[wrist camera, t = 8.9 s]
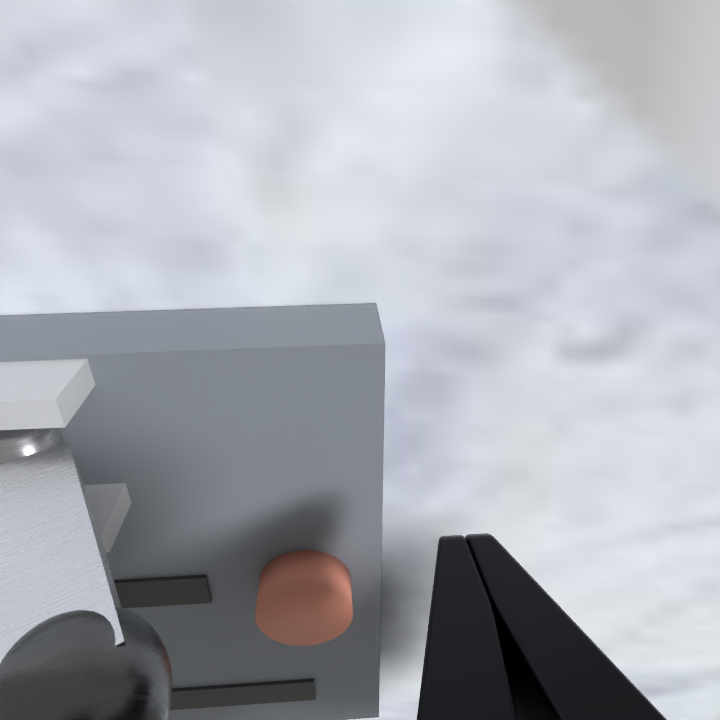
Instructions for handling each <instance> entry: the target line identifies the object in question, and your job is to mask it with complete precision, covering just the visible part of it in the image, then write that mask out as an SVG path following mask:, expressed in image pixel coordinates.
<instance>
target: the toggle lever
mask: <svg viewBox="0 0 720 720" xmlns="http://www.w3.org/2000/svg"><path fill="white" fill-rule="evenodd" d="M172 687H173V678H172V668H171V663H170V659H169V656H168V652H167V650H166V648H165V646H164V644H163V642H162V639H161V638H160V636H159V635H158V634H157V632H156V631H155V630H154V628H153V627H152V626H151V625H150V624H149V623H148V622H146V621H145V620H144V619H143V618H141V617H140V616H138V615H136V614H135V613H133V612H131V611H129V610H126V609H123V608H122V607H121V604H120V600H119V597H118V593H117V590H116V587H115V583H114V580H113V576H112V573H111V570H110V566H109V563H108V559H107V556H106V553H105V549H104V546H103V542H102V539H101V536H100V532H99V529H98V525H97V522H96V519H95V515H94V512H93V510H92V507H91V504H90V501H89V498H88V496H87V493H86V490H85V487H84V485H83V482H82V479H81V476H80V474H79V471H78V468H77V465H76V462H75V460H74V457H73V454H72V451H71V449H70V446H69V443H66V444H65V443H64V441H63V438H62V435H61V432H60V430H59V428H42V429H19V430H0V720H167V718H168V715H169V710H170V705H171V700H172Z"/></svg>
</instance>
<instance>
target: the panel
mask: <svg viewBox="0 0 720 720" xmlns="http://www.w3.org/2000/svg"><path fill="white" fill-rule="evenodd" d="M384 389H385V340H384V335H383V331H382V326H381V322H380V318H379V313H378V309H377V304H376V303H365V304H335V305H305V306H274V307H244V308H214V309H184V310H153V311H123V312H93V313H62V314H32V315H2V316H0V430H19V429H42V428H59V430H60V432H61V435H62V438H63V441H64V443H65V444H66V443H69V446H70V449H71V451H72V454H73V457H74V460H75V462H76V465H77V468H78V471H79V474H80V476H81V479H82V482H83V485H84V487H85V490H86V493H87V496H88V498H89V501H90V504H91V507H92V510H93V512H94V515H95V519H96V522H97V525H98V529H99V532H100V536H101V539H102V542H103V546H104V549H105V553H106V556H107V559H108V563H109V566H110V570H111V573H112V576H113V580H114V583H115V587H116V590H117V593H118V597H119V600H120V604H121V607H122V608H123V609H126V610H129V611H131V612H133V613H135V614H136V615H138V616H140V617H141V618H143V619H144V620H145V621H146V622H148V623H149V624H150V625H151V626H152V627H153V628H154V630H155V631H156V632H157V634H158V635H159V636H160V638H161V639H162V642H163V644H164V646H165V648H166V650H167V652H168V656H169V659H170V663H171V668H172V678H173V687H172V700H171V705H170V710H169V715H168V718H167V720H347V719H360V718H374V717H379V668H380V612H381V556H382V500H383V444H384Z"/></svg>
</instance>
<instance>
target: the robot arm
mask: <svg viewBox="0 0 720 720" xmlns="http://www.w3.org/2000/svg"><path fill="white" fill-rule="evenodd" d="M417 720H666V718H665V717H664V716H663V715H662V714H661V713H660V712H659V711H658V710H657V709H656V708H655V707H654V706H653V705H652V704H651V703H650V702H649V700H648V699H647V698H646V697H645V696H644V695H643V694H642V693H641V692H640V691H639V690H638V689H637V688H636V687H635V686H634V685H633V684H632V683H631V681H630V680H629V679H628V678H627V677H626V676H625V675H624V674H623V673H622V672H621V671H620V670H619V669H618V668H617V667H616V666H615V665H614V663H613V662H612V661H611V660H610V659H609V658H608V657H607V656H606V655H605V654H604V653H603V652H602V651H601V650H600V649H599V648H598V647H597V645H596V644H595V643H594V642H593V641H592V640H591V639H590V638H589V637H588V636H587V635H586V634H585V633H584V632H583V631H582V630H581V629H580V628H579V626H578V625H577V624H576V623H575V622H574V621H573V620H572V619H571V618H570V617H569V616H568V615H567V614H566V613H565V612H564V611H563V610H562V608H561V607H560V606H559V605H558V604H557V603H556V602H555V601H554V600H553V599H552V598H551V597H550V596H549V595H548V594H547V593H546V592H545V591H544V589H543V588H542V587H541V586H540V585H539V584H538V583H537V582H536V581H535V580H534V579H533V578H532V577H531V576H530V575H529V574H528V573H527V571H526V570H525V569H524V568H523V567H522V566H521V565H520V564H519V563H518V562H517V561H516V560H515V559H514V558H513V557H512V556H511V555H510V554H509V552H508V551H507V550H506V549H505V548H504V547H503V546H502V545H501V544H500V543H499V542H498V541H497V540H496V539H495V538H494V537H493V536H492V535H490V534H469V535H467V536H466V537H464V536H462V535H452V536H441V537H440V538H439V543H438V551H437V559H436V567H435V575H434V584H433V592H432V600H431V608H430V616H429V625H428V633H427V641H426V649H425V657H424V666H423V674H422V682H421V690H420V698H419V707H418V715H417Z"/></svg>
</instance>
